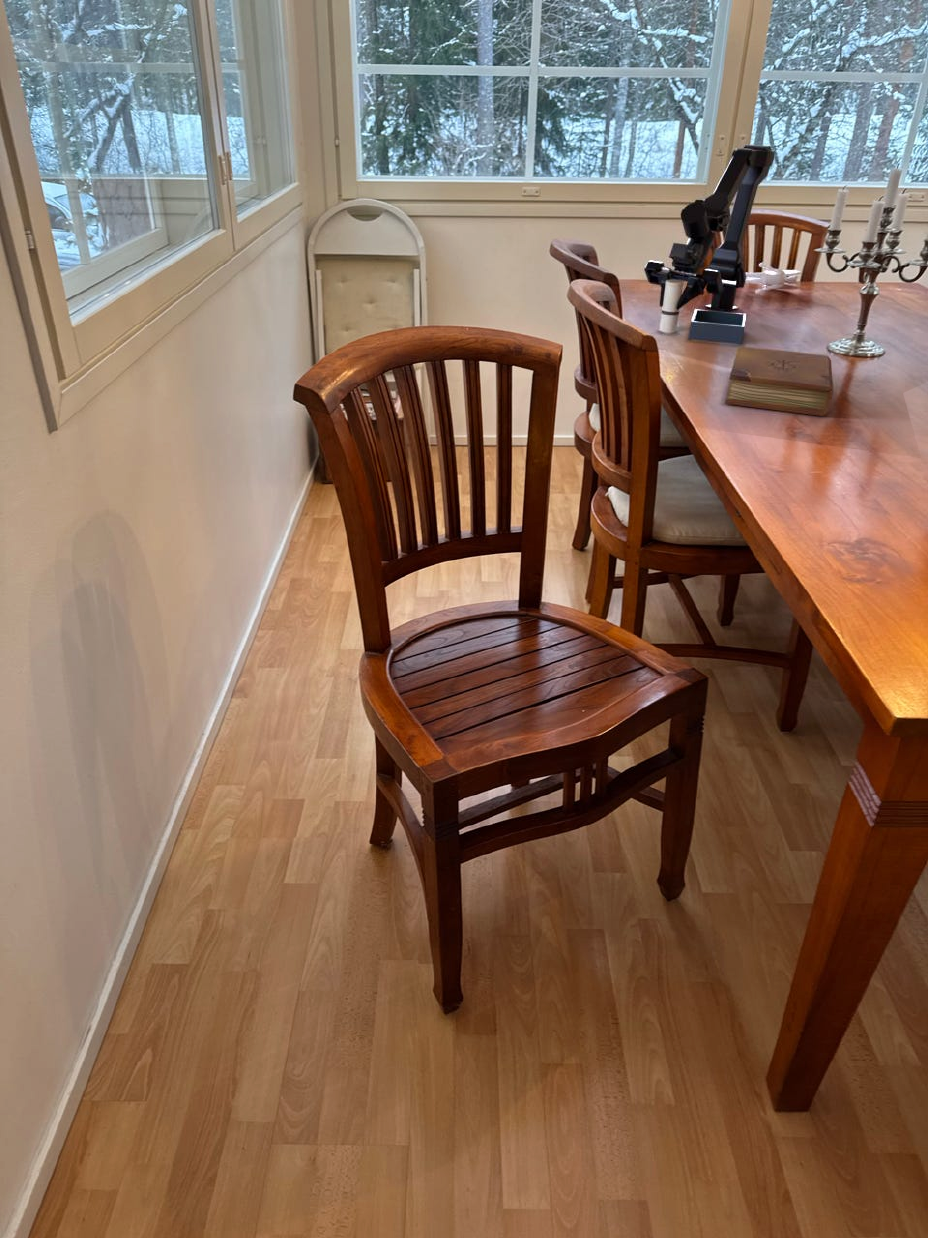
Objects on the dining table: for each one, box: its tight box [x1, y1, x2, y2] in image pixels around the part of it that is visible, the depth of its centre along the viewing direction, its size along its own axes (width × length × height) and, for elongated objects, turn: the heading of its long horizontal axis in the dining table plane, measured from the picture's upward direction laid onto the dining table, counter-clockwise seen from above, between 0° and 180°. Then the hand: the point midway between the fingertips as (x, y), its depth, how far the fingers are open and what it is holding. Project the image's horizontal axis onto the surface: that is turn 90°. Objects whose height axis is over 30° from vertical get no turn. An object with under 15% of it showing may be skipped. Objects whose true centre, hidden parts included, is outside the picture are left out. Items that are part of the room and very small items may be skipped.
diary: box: [724, 345, 834, 417], centre depth 174 cm, size 23×19×6 cm
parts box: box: [687, 308, 747, 345], centre depth 210 cm, size 13×12×5 cm
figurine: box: [735, 262, 802, 295], centre depth 255 cm, size 9×12×20 cm
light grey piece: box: [658, 280, 685, 334], centre depth 210 cm, size 4×4×12 cm
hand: (668, 307), depth 209 cm, fingers closed on light grey piece, 4 cm apart
